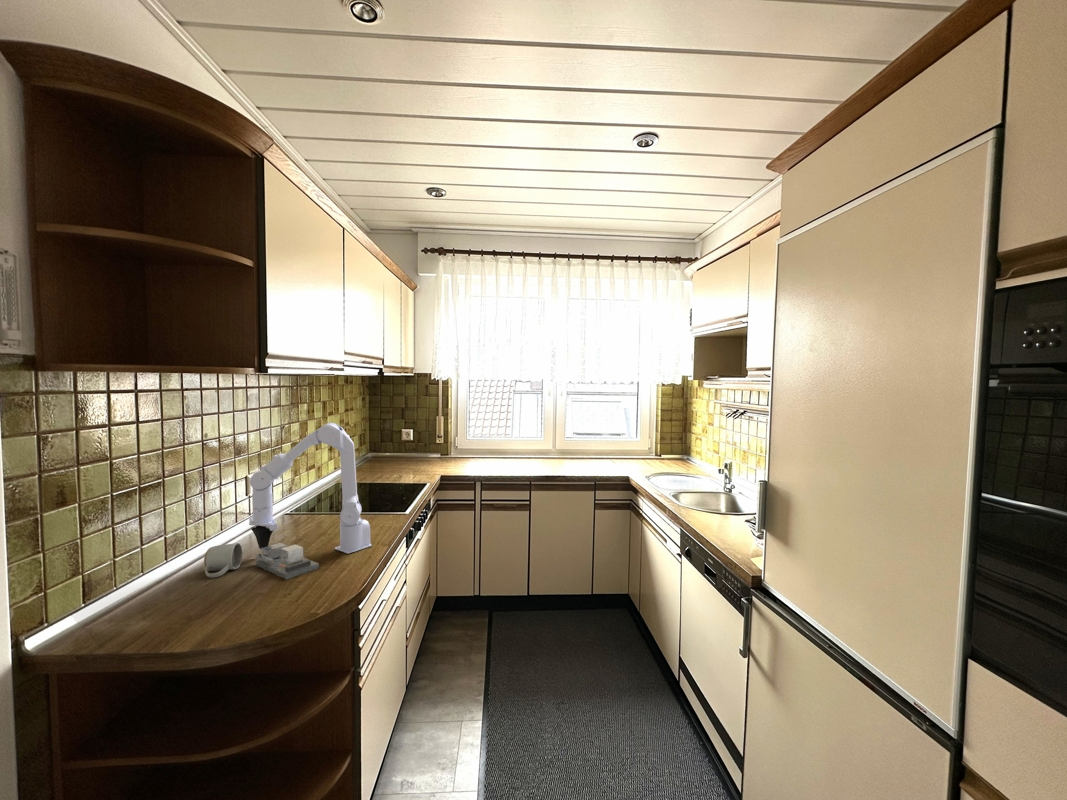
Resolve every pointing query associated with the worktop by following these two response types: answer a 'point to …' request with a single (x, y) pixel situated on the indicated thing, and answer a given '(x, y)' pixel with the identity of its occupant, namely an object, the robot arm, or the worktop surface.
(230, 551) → the ceramic mug
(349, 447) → the robot arm
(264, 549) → the block
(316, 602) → the worktop surface
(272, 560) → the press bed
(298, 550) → the white rectangular block
